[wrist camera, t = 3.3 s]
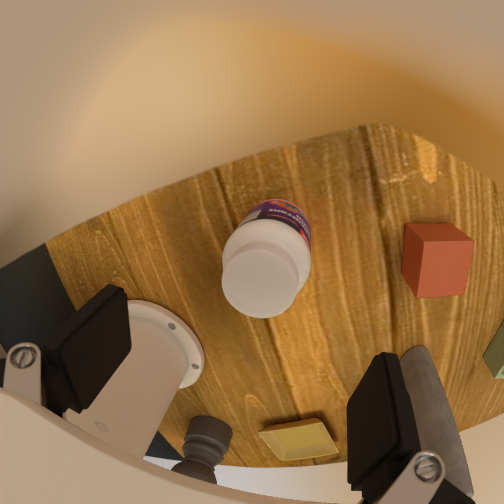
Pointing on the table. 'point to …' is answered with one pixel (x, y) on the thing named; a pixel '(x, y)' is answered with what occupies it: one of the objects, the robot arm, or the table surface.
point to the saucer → (299, 439)
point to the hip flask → (435, 416)
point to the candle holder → (204, 448)
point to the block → (436, 259)
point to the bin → (496, 354)
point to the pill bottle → (267, 259)
